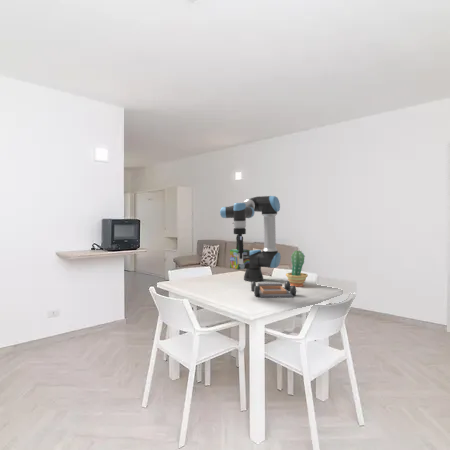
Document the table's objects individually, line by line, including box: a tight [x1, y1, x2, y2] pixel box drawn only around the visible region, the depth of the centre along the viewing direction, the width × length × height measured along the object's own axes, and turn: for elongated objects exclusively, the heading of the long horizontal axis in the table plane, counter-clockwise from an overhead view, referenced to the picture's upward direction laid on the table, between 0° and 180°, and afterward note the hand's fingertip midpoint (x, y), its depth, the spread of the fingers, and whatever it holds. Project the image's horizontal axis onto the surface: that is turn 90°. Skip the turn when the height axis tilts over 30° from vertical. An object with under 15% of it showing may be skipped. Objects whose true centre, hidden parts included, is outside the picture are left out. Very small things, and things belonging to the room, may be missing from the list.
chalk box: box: [229, 247, 251, 270], centre depth 198 cm, size 9×9×15 cm
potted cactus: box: [285, 249, 309, 288], centre depth 229 cm, size 15×15×25 cm
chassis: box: [250, 280, 297, 299], centre depth 206 cm, size 24×25×6 cm
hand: (239, 262), depth 198 cm, fingers closed on chalk box, 12 cm apart
